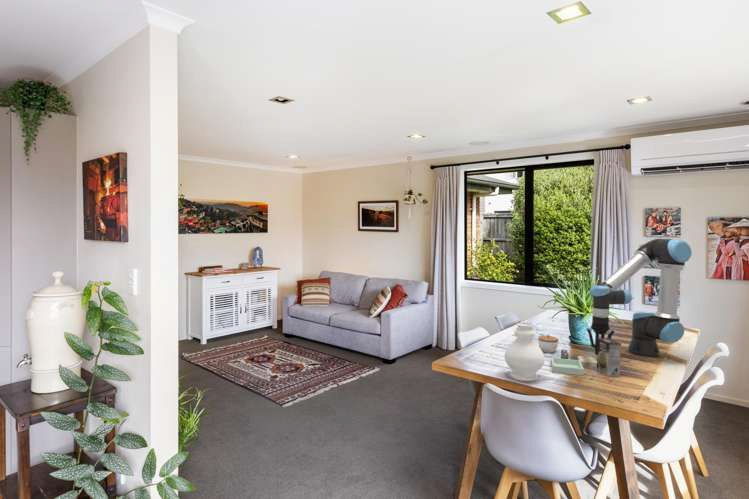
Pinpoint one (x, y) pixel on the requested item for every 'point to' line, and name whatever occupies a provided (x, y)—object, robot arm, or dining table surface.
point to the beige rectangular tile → (588, 361)
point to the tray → (567, 366)
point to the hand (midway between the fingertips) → (598, 361)
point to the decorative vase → (524, 354)
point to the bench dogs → (564, 354)
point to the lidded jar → (548, 343)
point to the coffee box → (608, 357)
